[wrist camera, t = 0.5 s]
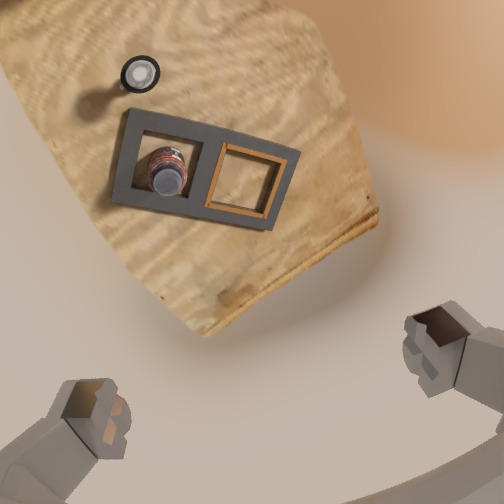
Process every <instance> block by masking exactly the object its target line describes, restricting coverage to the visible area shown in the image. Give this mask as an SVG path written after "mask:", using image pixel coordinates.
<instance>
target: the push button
mask: <svg viewBox="0 0 504 504" xmlns="http://www.w3.org/2000/svg"><path fill="white" fill-rule="evenodd" d="M144 60H145V61H144ZM149 62H150V63H149ZM151 63H152V64H153V65H152V64H151ZM154 78H155V79H154ZM159 78H160V67H159V65H158V63H157V62H156V61H155V60H154V59H153V58H151V57H149V56H144V55H140V56H136V57H133V58H131V59H130V60H128V61H127V62H126V63H125V65H124V66H123V68H122V70H121V82H122V85H120V86H119V87H120V89H121V90H123V89H125V88H126V89H127V90H128V91H130V92H132V93H145V92H147V91H149V90H151V89H152V88H153V87H154V86H155V85H156V84H157V83H158V81H159ZM153 79H154V81H153ZM152 81H153V82H152ZM151 82H152V84H151V85H149V84H150V83H151ZM148 85H149V86H148ZM122 86H124V88H123V87H122ZM146 86H148V87H146ZM144 87H146V88H144ZM135 88H144V89H135Z"/></svg>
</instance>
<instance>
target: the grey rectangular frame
mask: <svg viewBox="0 0 504 504" xmlns="http://www.w3.org/2000/svg"><path fill="white" fill-rule="evenodd" d="M144 130H149V131H154V132H159V133H163V134H168V135H173V136H178V137H182V138H187V139H191V140H195V141H200V142H202V145H201V149H200V152H199V156H198V159H197V162H196V166H195V170H194V173H193V177H192V180H191V184H190V188H189V191H188V195H187V196H186V195H181V194H175V195H173V196H161V195H158V194H156V193H155V192H154V191H153V190H152V189H149V188H143V187H138V186H132V180H133V175H134V170H135V166H136V161H137V157H138V153H139V148H140V144H141V140H142V136H143V132H144ZM227 148H228V149H231V150H235V151H239V152H243V153H247V154H250V155H254V156H258V157H261V158H265V159H268V160H272V161H275V162H277V165H276V168H275V171H274V174H273V176H272V179H271V182H270V185H269V188H268V190H267V193H266V196H265V199H264V202H263V204H262V207H261V210H260V211H259V210H254V209H250V208H245V207H240V206H236V205H231V204H226V203H221V202H216V201H211V199H212V196H213V193H214V189H215V186H216V183H217V179H218V176H219V173H220V170H221V166H222V163H223V160H224V157H225V154H226V150H227ZM300 154H301V151H299V150H296V149H293V148H290V147H287V146H284V145H281V144H277V143H274V142H271V141H268V140H264V139H261V138H258V137H254V136H251V135H247V134H244V133H240V132H237V131H233V130H229V129H225V128H222V127H218V126H214V125H210V124H206V123H202V122H198V121H194V120H190V119H185V118H181V117H176V116H172V115H167V114H163V113H158V112H153V111H148V110H143V109H138V108H132V107H131V108H130V112H129V116H128V120H127V124H126V128H125V132H124V137H123V141H122V145H121V150H120V155H119V160H118V164H117V170H116V175H115V180H114V186H113V191H112V197H111V202H114V203H120V204H126V205H132V206H138V207H143V208H149V209H155V210H161V211H166V212H172V213H177V214H183V215H189V216H194V217H200V218H205V219H210V220H216V221H221V222H226V223H232V224H237V225H242V226H248V227H253V228H258V229H263V230H268V231H272V229H273V227H274V224H275V221H276V219H277V216H278V213H279V211H280V208H281V205H282V203H283V200H284V197H285V195H286V192H287V189H288V187H289V184H290V181H291V179H292V176H293V173H294V170H295V168H296V165H297V162H298V160H299V157H300Z"/></svg>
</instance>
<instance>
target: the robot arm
mask: <svg viewBox="0 0 504 504" xmlns="http://www.w3.org/2000/svg"><path fill="white" fill-rule="evenodd" d="M404 330H405V331H406V332H407V333H408V335H407V337H406V338H405V340H404V341H403V356H404V360H405V363H406V365H407V367H408V369H409V370H410V372H411V373H414V374H416V375H419V380H418V384H419V385H420V386H421V388H422V389H423V391H424V392H425V394H426V395H427V397H428V398H430V397H433V396H435V395H438V394H440V393H443V392H445V391H447V390H449V389H452V388H454V389H455V390H457V391H458V392H461V393H462V394H465V395H466V396H469V397H470V398H473V399H474V400H477V401H478V402H480V403H482V404H484V405H486V406H488V407H490V408H492V409H494V410H496V411H498V412H500V413H502V414H503V416H502V418H501V420H500V422H499V424H498V425H497V428H496V433H497V435H496V436H494V437H492V438H491V439H489V440H488V441H486V442H484V443H483V444H481V445H479V446H478V447H476V448H474V449H472V450H471V451H469V452H467V453H465V454H463V455H461V456H460V457H458V458H456V459H454V460H452V461H450V462H448V463H446V464H444V465H442V466H440V467H438V468H436V469H434V470H431V471H430V472H427V473H425V474H423V475H420V476H418V477H416V478H413V479H411V480H409V481H406V482H404V483H401V484H399V485H396V486H394V487H391V488H388V489H386V490H383V491H380V492H377V493H374V494H371V495H368V496H365V497H362V498H360V499H356V500H353V501H349V502H346V503H342V504H504V330H500V329H496V328H492V327H487V328H484V327H483V326H482V325H481V324H480V323H479V322H477V320H476V319H474V318H473V317H472V316H471V315H470V314H469V313H468V312H466V311H465V310H464V309H463V308H462V307H461V306H460V305H458V304H457V303H456V302H455V301H448V302H445V303H443V304H440V305H438V306H436V307H433V308H431V309H428V310H425V311H422V312H419V313H416V314H413V315H410V316H407V318H406V320H405V326H404ZM117 390H118V388H117V386H116V384H115V383H114V381H113V380H112V379H109V378H100V379H81V380H67V381H65V382H63V384H62V386H61V388H60V390H59V392H58V394H57V396H56V398H55V400H54V402H53V404H52V406H51V408H50V410H49V412H48V414H47V416H46V418H41V419H40V420H39V421H37V422H36V423H35V424H34V425H32V426H31V427H30V428H29V429H27V430H26V431H25V432H23V433H22V434H21V435H20V436H18V437H17V438H16V439H15V440H13V441H12V442H11V443H10V444H8V445H7V446H6V447H4V448H3V449H2V450H1V451H0V504H67V503H66V502H64V501H65V500H66V499H67V498H68V497H69V495H70V494H71V493H72V492H73V491H74V489H75V488H76V487H77V486H78V485H79V483H80V482H81V481H82V480H83V479H84V477H85V476H86V475H87V474H88V472H89V471H90V470H91V469H92V468H93V466H94V465H95V464H96V463H97V462H98V459H123V457H124V453H125V448H126V444H127V440H126V439H125V437H124V435H125V434H126V433H127V432H128V431H129V430H130V426H131V412H130V409H129V406H128V404H127V402H126V401H125V399H124V398H122V397H120V396H119V395H118V394H117Z"/></svg>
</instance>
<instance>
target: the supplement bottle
mask: <svg viewBox="0 0 504 504" xmlns="http://www.w3.org/2000/svg"><path fill="white" fill-rule="evenodd" d="M148 164H149V165H148V172H147V181H148V184H149V186H150V188H151V189H152V190H153V191H154V192H155V193H156V194H158V195H161V196H173V195H175V194H177V193H179V192H180V191H181V190H182V189H183V188H184V186H185V184H186V182H187V169H186V166H185V162H184V158H183V156H182V154H181V153H180V152H179V151H178V150H177V149H175V148H173V147H161V148H159V149H157V150H156V151H155V152H154V153H153V154H152V156H151V157H150V160H149V163H148Z"/></svg>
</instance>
